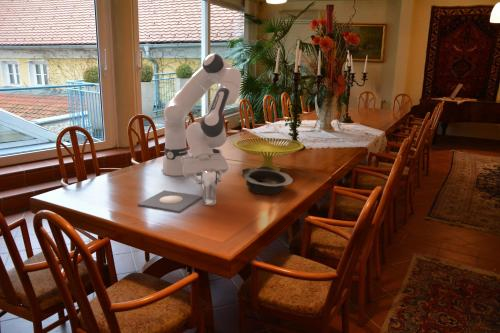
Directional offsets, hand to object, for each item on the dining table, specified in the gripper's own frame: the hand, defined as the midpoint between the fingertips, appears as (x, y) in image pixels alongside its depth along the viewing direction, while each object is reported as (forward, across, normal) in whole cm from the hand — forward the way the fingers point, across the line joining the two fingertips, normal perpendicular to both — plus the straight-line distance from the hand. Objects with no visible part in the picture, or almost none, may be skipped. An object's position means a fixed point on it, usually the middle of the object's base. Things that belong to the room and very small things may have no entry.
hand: (209, 182), depth 171 cm
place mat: (+1, -15, +12) cm, 19 cm away
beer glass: (+7, 0, +6) cm, 9 cm away
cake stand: (-20, +50, +34) cm, 63 cm away
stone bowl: (+2, +32, +11) cm, 34 cm away
